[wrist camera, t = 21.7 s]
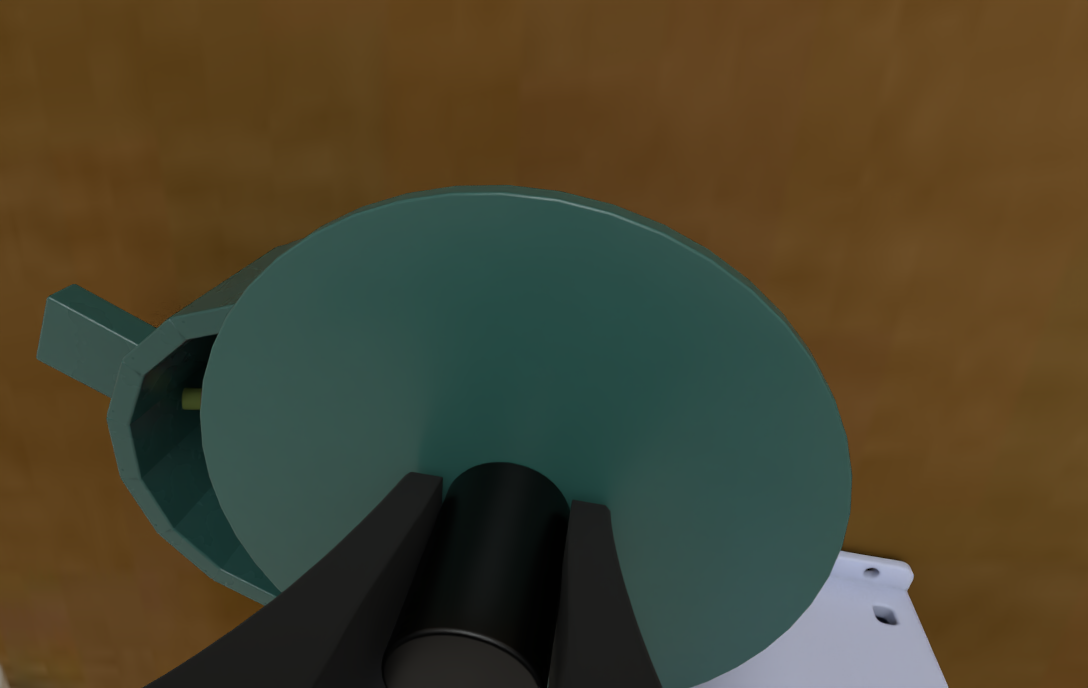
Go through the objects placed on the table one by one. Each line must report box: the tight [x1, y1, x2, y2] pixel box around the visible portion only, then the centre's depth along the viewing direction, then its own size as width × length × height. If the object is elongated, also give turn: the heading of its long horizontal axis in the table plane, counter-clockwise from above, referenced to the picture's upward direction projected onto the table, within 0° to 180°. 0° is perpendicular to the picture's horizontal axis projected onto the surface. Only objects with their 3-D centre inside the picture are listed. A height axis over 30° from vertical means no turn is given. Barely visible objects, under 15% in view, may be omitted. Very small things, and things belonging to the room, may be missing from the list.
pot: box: [36, 238, 304, 606], centre depth 21 cm, size 11×17×6 cm
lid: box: [200, 185, 852, 688], centre depth 11 cm, size 12×12×5 cm
